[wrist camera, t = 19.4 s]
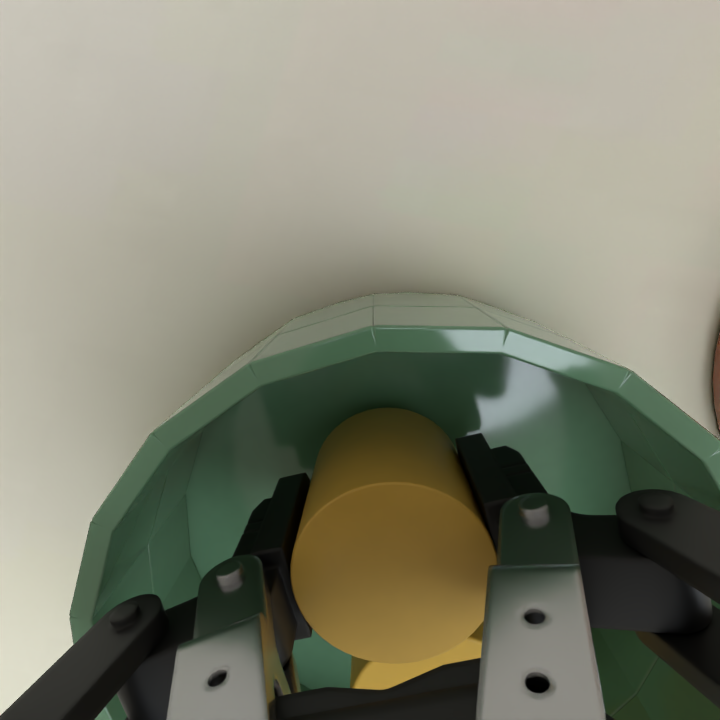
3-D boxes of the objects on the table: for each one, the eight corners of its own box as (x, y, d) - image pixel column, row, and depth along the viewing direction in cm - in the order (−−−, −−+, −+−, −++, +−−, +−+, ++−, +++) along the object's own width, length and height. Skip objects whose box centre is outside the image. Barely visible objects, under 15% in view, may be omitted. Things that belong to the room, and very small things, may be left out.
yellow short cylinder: (412, 511, 16) (424, 601, 12) (522, 588, 16) (570, 698, 12) (327, 609, 17) (313, 722, 13) (435, 678, 17) (453, 808, 13)
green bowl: (358, 184, 14) (347, 144, 8) (736, 480, 16) (951, 623, 10) (98, 555, 17) (-47, 720, 11) (439, 766, 19) (469, 1004, 13)
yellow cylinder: (373, 377, 13) (372, 441, 9) (491, 463, 14) (543, 561, 10) (286, 488, 14) (249, 594, 10) (400, 566, 15) (412, 697, 11)
